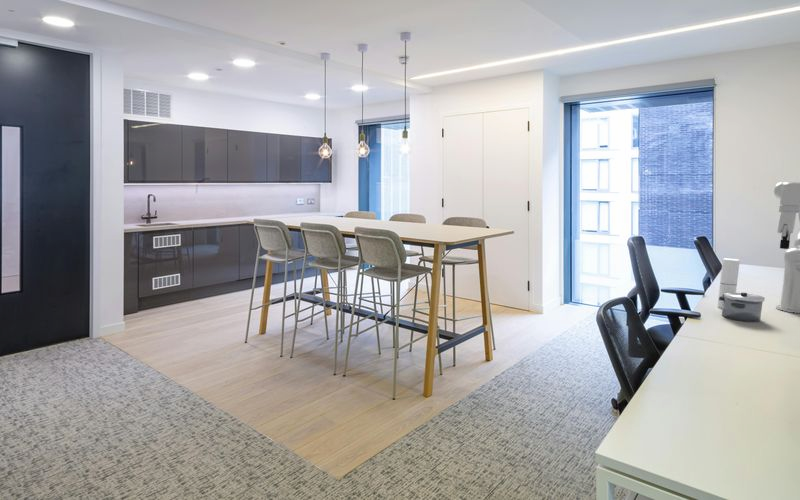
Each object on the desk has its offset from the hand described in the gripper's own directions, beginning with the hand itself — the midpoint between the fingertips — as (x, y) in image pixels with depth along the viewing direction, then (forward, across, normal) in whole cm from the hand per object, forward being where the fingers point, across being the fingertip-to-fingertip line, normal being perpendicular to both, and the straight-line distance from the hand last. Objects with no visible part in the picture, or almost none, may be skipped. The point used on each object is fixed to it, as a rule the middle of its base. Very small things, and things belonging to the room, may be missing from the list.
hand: (784, 248), depth 230 cm
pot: (+33, +15, -11) cm, 38 cm away
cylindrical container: (+33, -3, -21) cm, 39 cm away
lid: (+24, +15, -11) cm, 30 cm away
